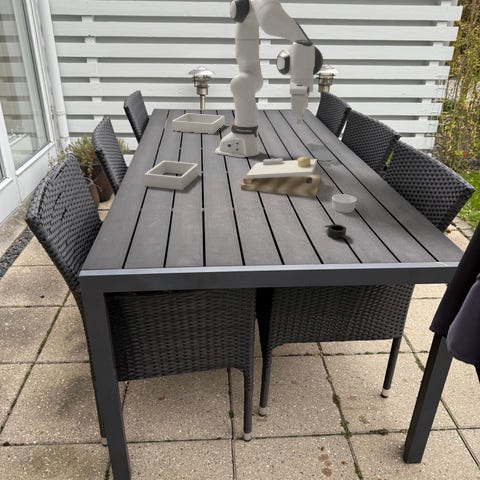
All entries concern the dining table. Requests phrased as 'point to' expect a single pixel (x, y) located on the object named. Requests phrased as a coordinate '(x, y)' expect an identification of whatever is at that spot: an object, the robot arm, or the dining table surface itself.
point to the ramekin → (343, 203)
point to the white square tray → (198, 123)
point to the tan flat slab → (284, 185)
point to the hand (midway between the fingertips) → (299, 123)
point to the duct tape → (336, 231)
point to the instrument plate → (282, 168)
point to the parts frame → (171, 182)
